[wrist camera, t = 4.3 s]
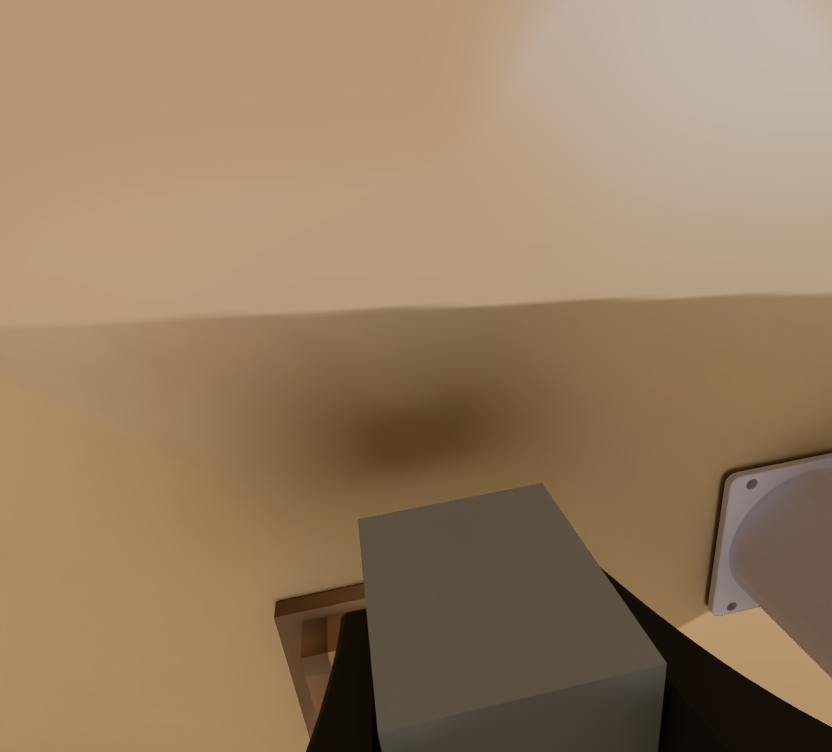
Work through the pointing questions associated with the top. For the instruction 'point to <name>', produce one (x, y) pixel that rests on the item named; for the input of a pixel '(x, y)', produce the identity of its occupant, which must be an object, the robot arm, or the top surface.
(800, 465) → the robot arm
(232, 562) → the top surface
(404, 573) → the slate block
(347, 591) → the slot rack
